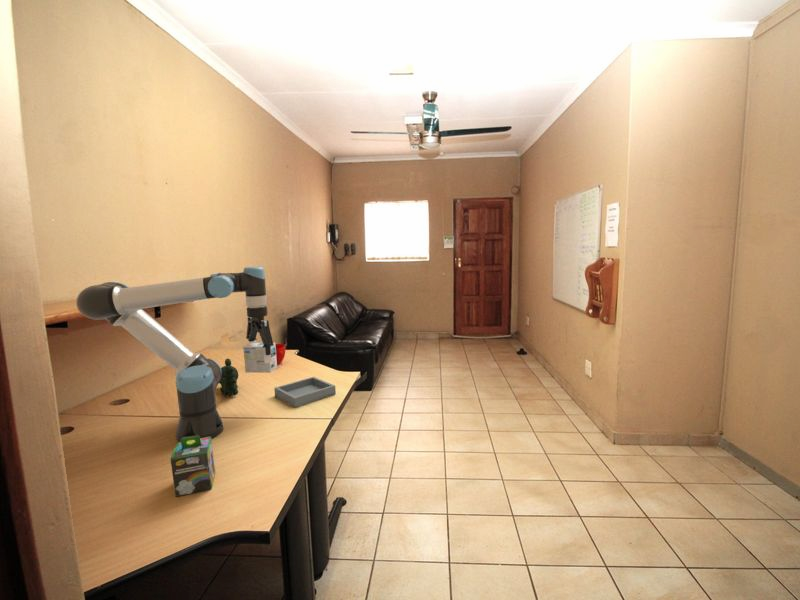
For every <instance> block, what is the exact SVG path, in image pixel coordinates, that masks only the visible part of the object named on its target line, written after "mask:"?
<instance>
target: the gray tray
mask: <svg viewBox="0 0 800 600" xmlns="http://www.w3.org/2000/svg"><path fill="white" fill-rule="evenodd" d="M334 395H336V385H334V384H332V383H330V382H328V381H325V380H323V379H320V378H318V377H316V376H312V377H307V378H303V379H299V380H298V381H294V382H290V383H286V384H282V385H279V386H275V387H274V397H276V398H277V399H279V400H281V401H282V402H284V403H286V404H288V405H290V406H291V407H294V408H299V407H301V406H305V405H307V404H311V403H314V402H316V401H320V400H322V399H327V398H328V397H331V396H334Z"/></svg>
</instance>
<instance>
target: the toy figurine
mask: <svg viewBox="0 0 800 600" xmlns="http://www.w3.org/2000/svg"><path fill="white" fill-rule="evenodd" d="M221 372H222V374H221V380H220V382H219V384H220V386H221V387H220V388H219V389H220V392H221V396H223V397H228V396H229V395H233V396H237V395H238V393H239V390H238V388H239V385H238V379H239V371H238V369H237V368H236V367H235V366H232V360H231V359H230V358H226V359H225V361H224V366H222V367H221Z"/></svg>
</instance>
